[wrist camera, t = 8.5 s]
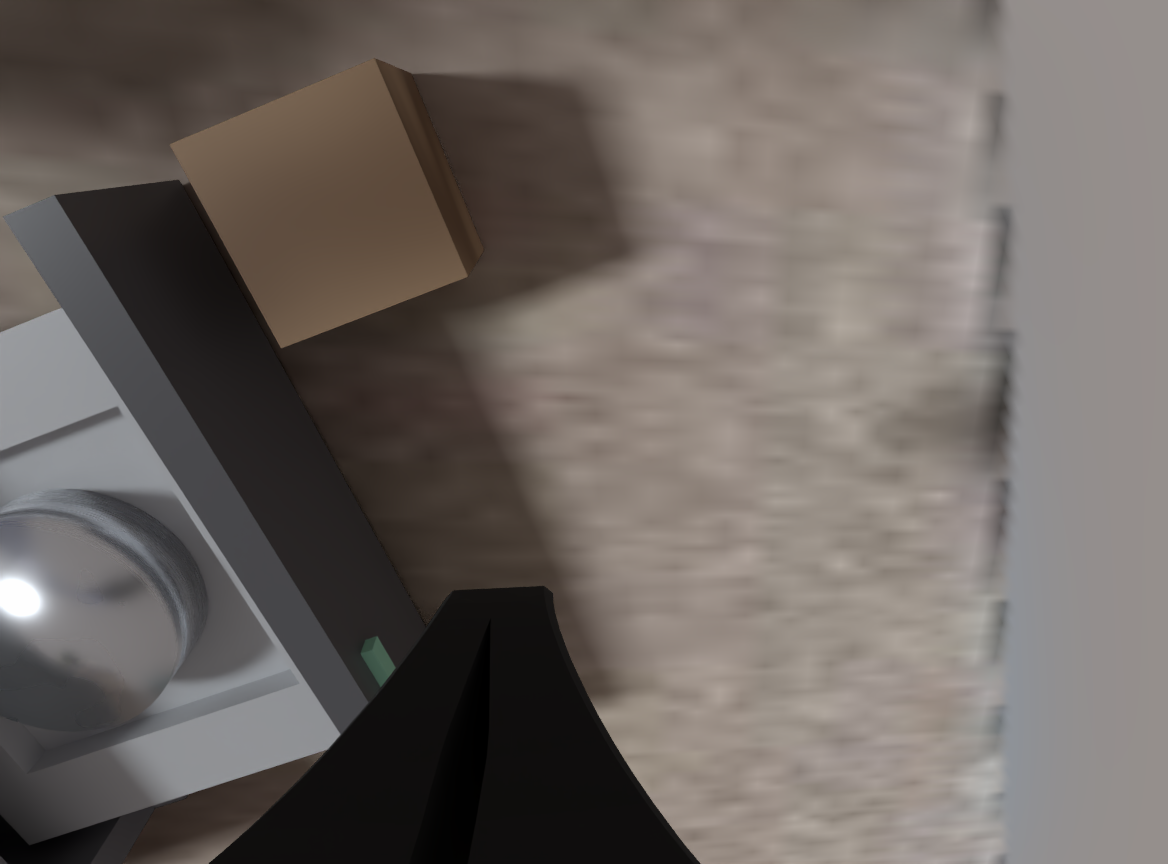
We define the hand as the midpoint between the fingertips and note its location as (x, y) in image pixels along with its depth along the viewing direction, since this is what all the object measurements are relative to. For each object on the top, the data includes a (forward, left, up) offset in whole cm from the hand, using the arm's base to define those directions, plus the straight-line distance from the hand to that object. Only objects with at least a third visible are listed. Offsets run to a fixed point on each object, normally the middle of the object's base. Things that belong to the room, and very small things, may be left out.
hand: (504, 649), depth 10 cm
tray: (0, -12, -10) cm, 15 cm away
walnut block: (-6, -2, -10) cm, 11 cm away
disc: (0, -12, -8) cm, 14 cm away
